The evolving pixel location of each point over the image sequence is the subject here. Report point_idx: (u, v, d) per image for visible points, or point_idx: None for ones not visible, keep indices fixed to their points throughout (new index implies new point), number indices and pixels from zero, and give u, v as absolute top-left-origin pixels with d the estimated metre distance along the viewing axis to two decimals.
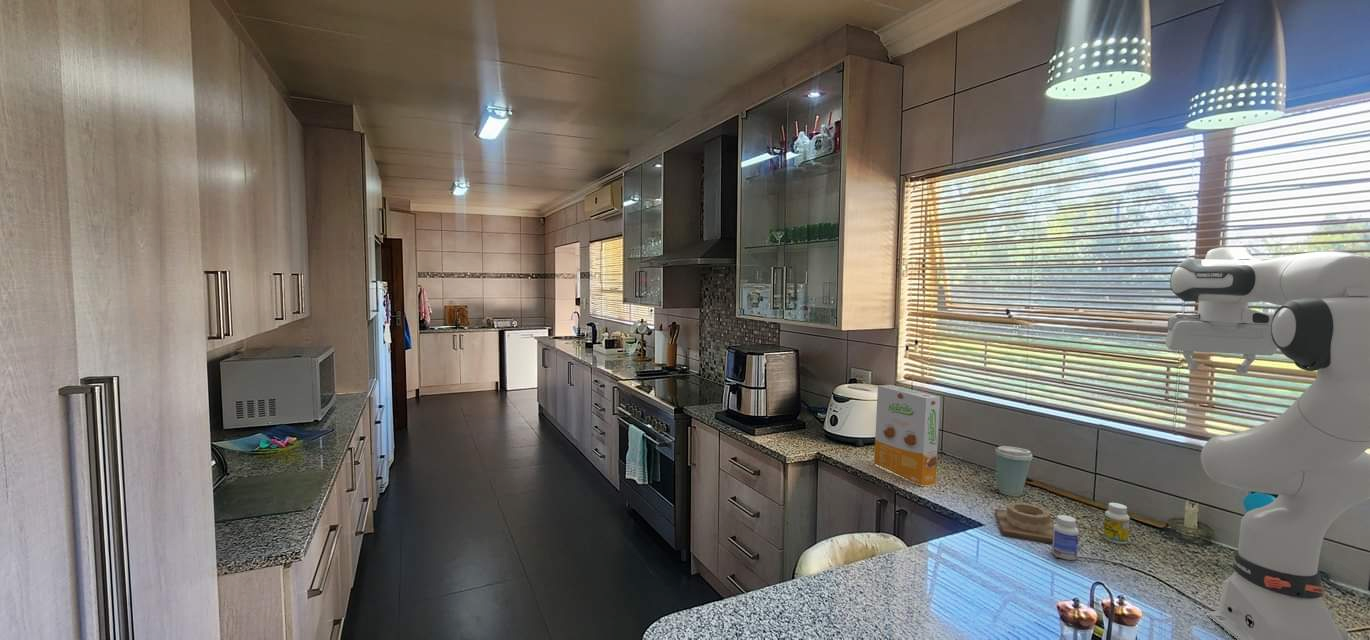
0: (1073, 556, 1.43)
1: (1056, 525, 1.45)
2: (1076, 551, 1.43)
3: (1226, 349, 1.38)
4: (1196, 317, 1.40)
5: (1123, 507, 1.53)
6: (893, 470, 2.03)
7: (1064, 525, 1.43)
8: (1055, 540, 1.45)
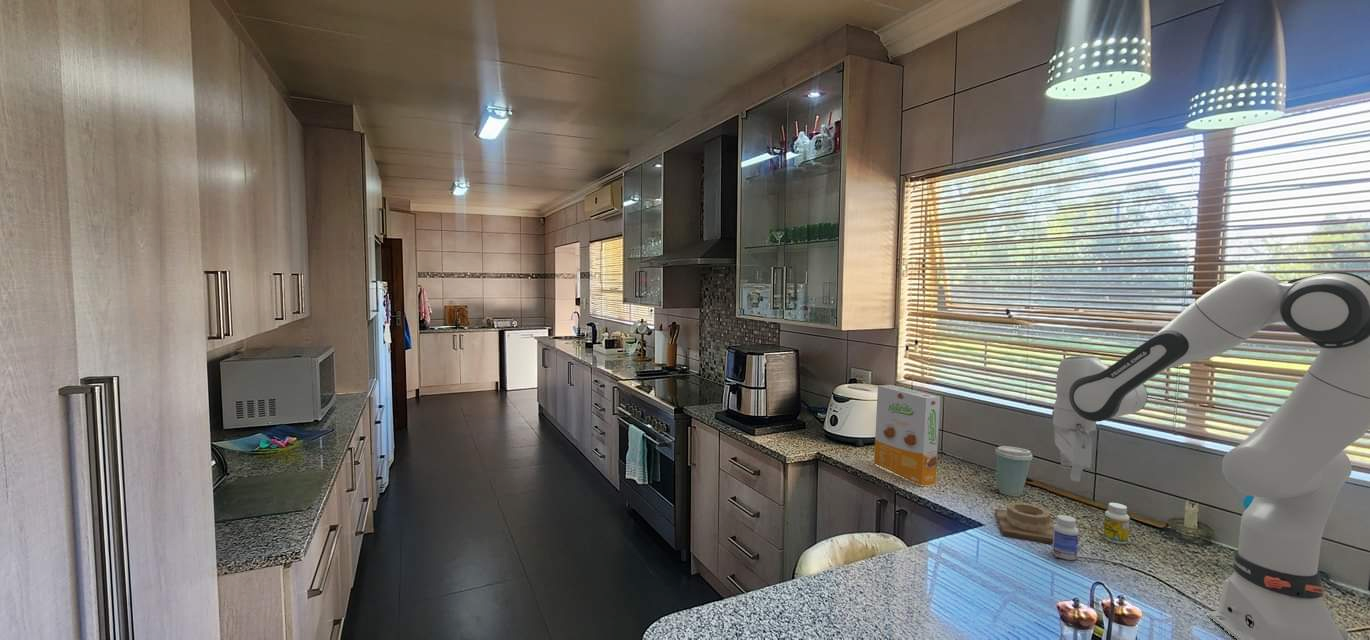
0: (1073, 556, 1.43)
1: (1056, 525, 1.45)
2: (1076, 551, 1.43)
3: None
4: None
5: (1123, 507, 1.53)
6: (893, 470, 2.03)
7: (1064, 525, 1.43)
8: (1055, 540, 1.45)
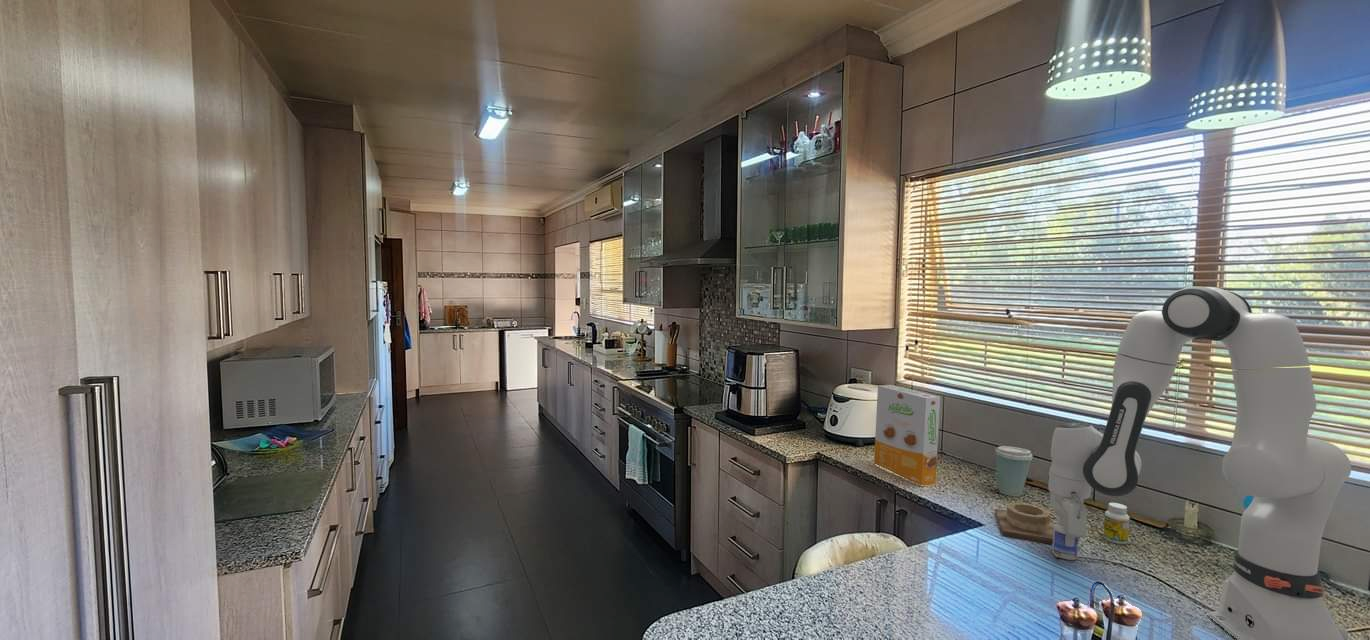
0: (1073, 556, 1.43)
1: (1056, 525, 1.45)
2: (1076, 551, 1.43)
3: None
4: None
5: (1123, 507, 1.53)
6: (893, 470, 2.03)
7: None
8: (1055, 540, 1.45)
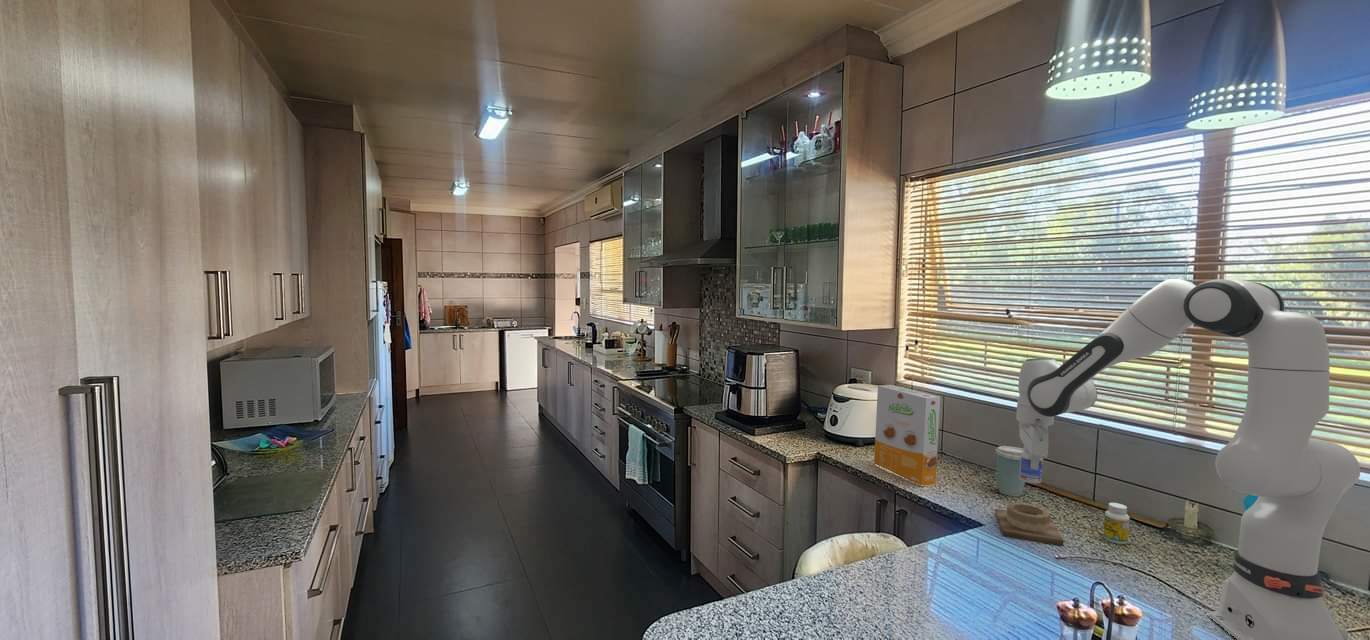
0: (1037, 480, 1.57)
1: (1023, 453, 1.59)
2: (1040, 475, 1.57)
3: None
4: None
5: (1123, 507, 1.53)
6: (893, 470, 2.03)
7: None
8: (1022, 466, 1.59)
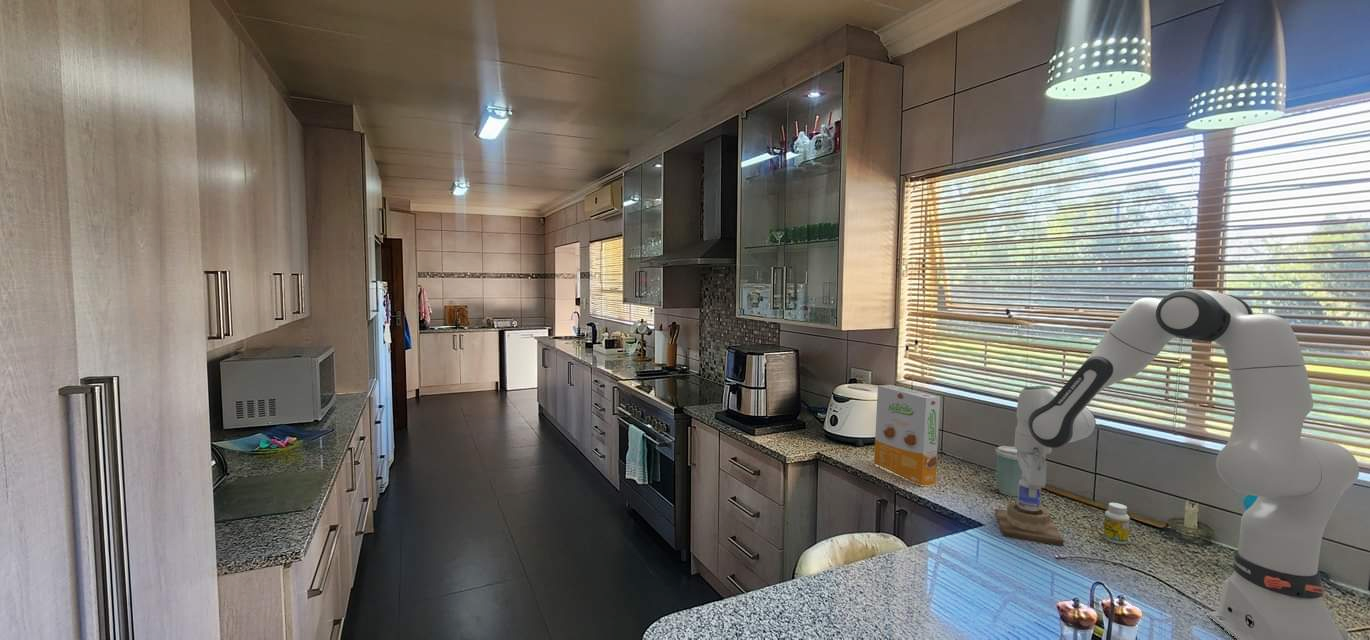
0: (1035, 508, 1.57)
1: (1021, 480, 1.60)
2: (1038, 503, 1.58)
3: None
4: None
5: (1123, 507, 1.53)
6: (893, 470, 2.03)
7: None
8: (1020, 493, 1.59)
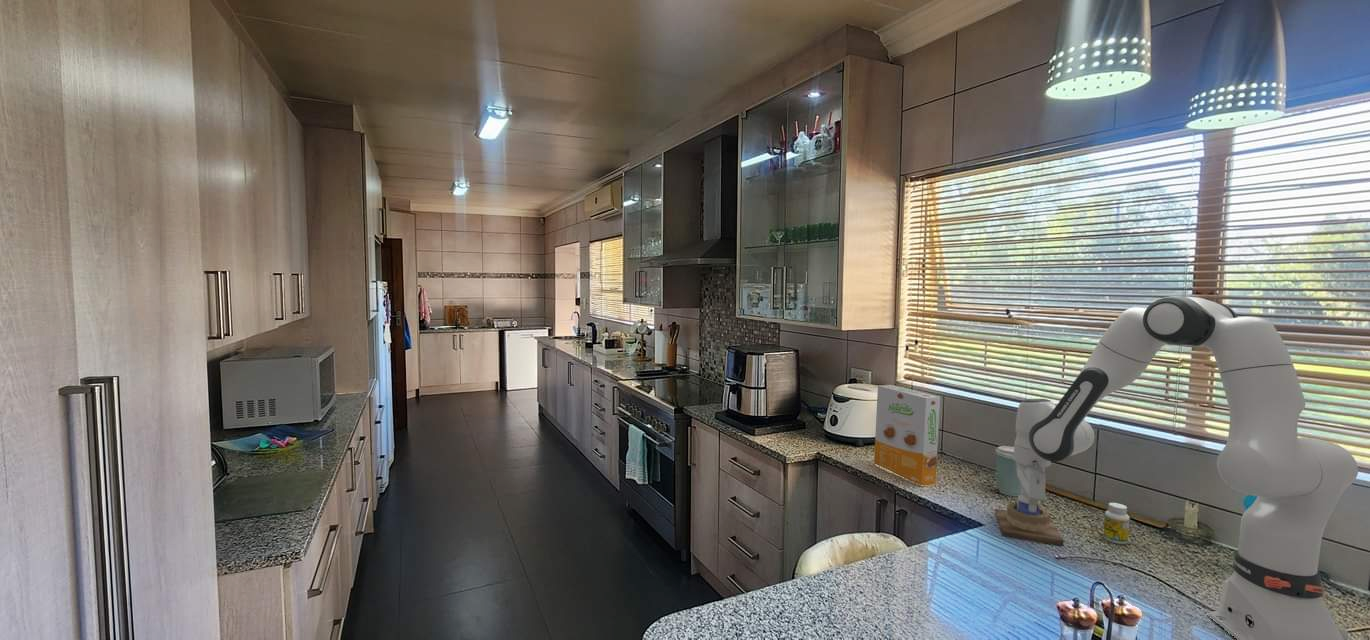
0: None
1: (1020, 496, 1.60)
2: None
3: None
4: None
5: (1123, 507, 1.53)
6: (893, 470, 2.03)
7: None
8: (1019, 509, 1.60)
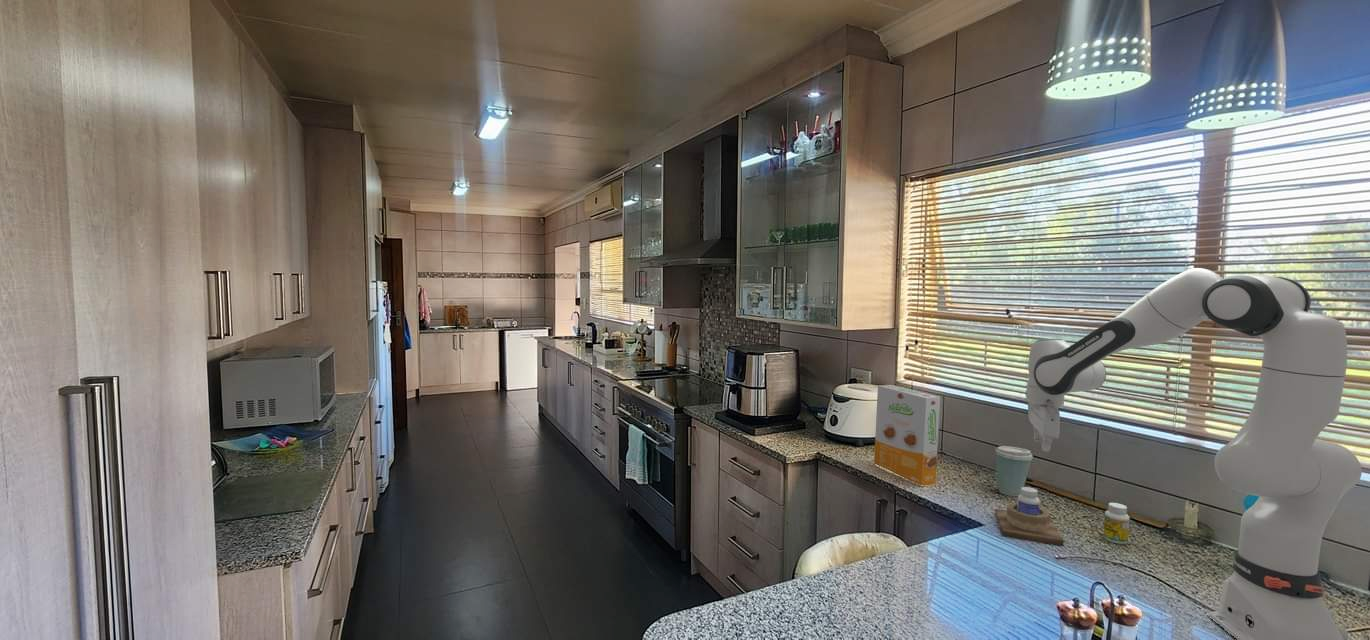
0: None
1: (1020, 496, 1.60)
2: None
3: None
4: None
5: (1123, 507, 1.53)
6: (893, 470, 2.03)
7: (1027, 495, 1.59)
8: (1019, 509, 1.60)
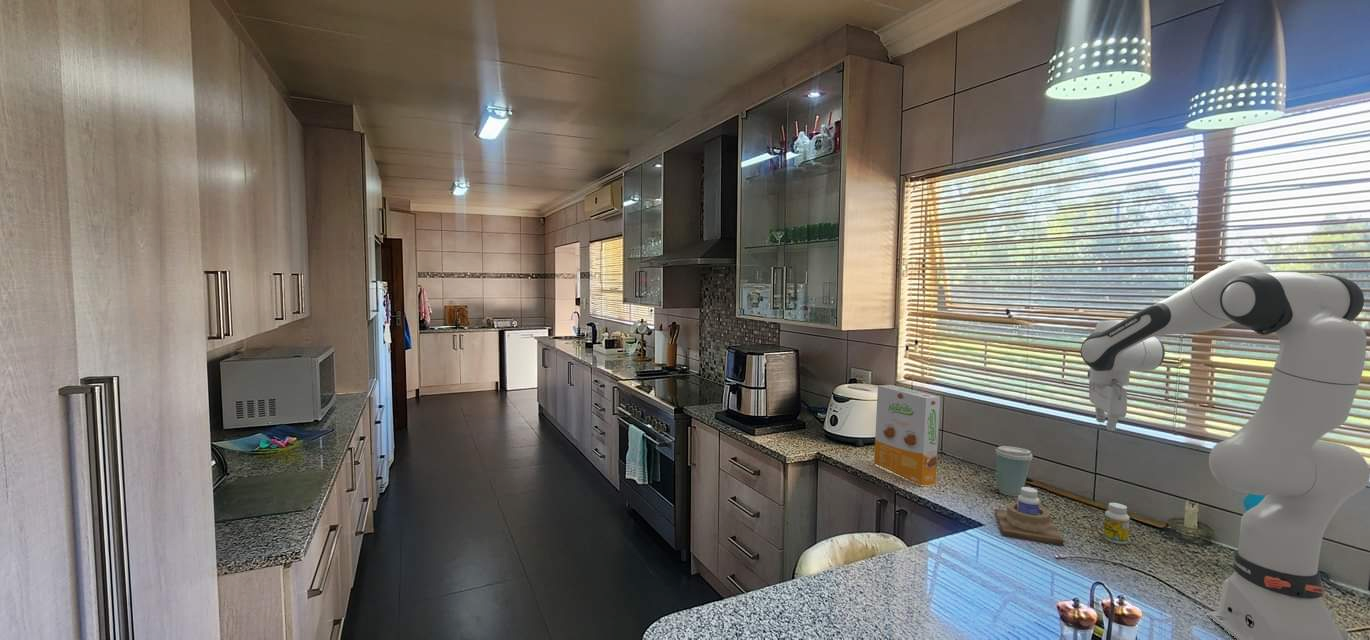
0: None
1: (1020, 496, 1.60)
2: None
3: None
4: None
5: (1123, 507, 1.53)
6: (893, 470, 2.03)
7: (1027, 495, 1.59)
8: (1019, 509, 1.60)
